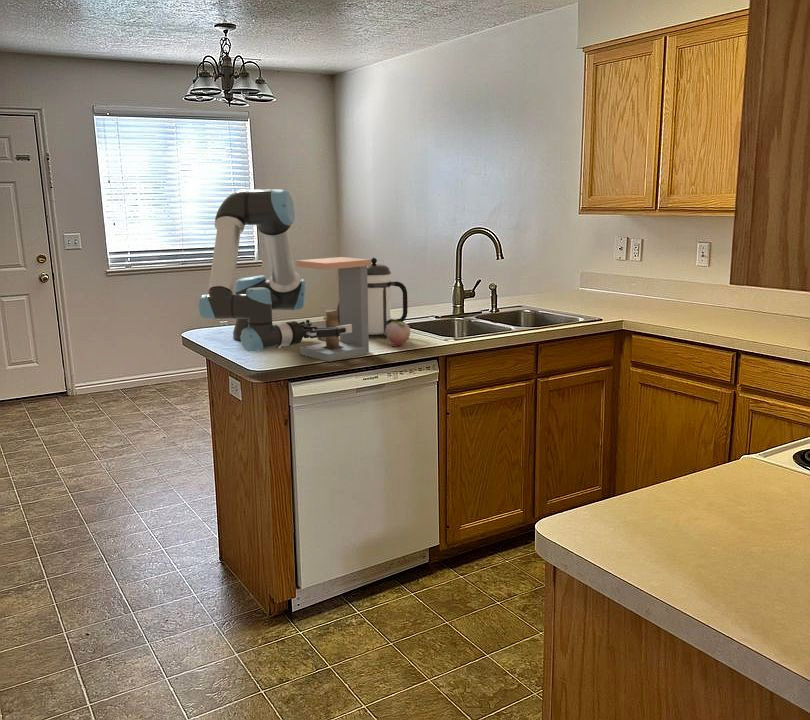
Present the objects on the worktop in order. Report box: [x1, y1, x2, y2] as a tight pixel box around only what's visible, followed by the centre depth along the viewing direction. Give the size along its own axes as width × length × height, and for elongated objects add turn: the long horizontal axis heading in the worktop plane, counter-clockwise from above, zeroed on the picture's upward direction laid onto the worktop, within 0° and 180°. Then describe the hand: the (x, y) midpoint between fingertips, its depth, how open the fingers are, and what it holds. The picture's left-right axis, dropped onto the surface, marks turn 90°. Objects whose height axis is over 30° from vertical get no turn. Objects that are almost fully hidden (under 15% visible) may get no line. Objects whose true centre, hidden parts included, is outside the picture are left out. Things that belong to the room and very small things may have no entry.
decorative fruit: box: [385, 318, 411, 347], centre depth 267 cm, size 9×8×10 cm
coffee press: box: [367, 257, 409, 339], centre depth 284 cm, size 17×16×30 cm
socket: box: [295, 256, 372, 362], centre depth 252 cm, size 16×19×32 cm
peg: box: [324, 309, 340, 350], centre depth 253 cm, size 4×4×15 cm
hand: (338, 325), depth 254 cm, fingers open, 13 cm apart
